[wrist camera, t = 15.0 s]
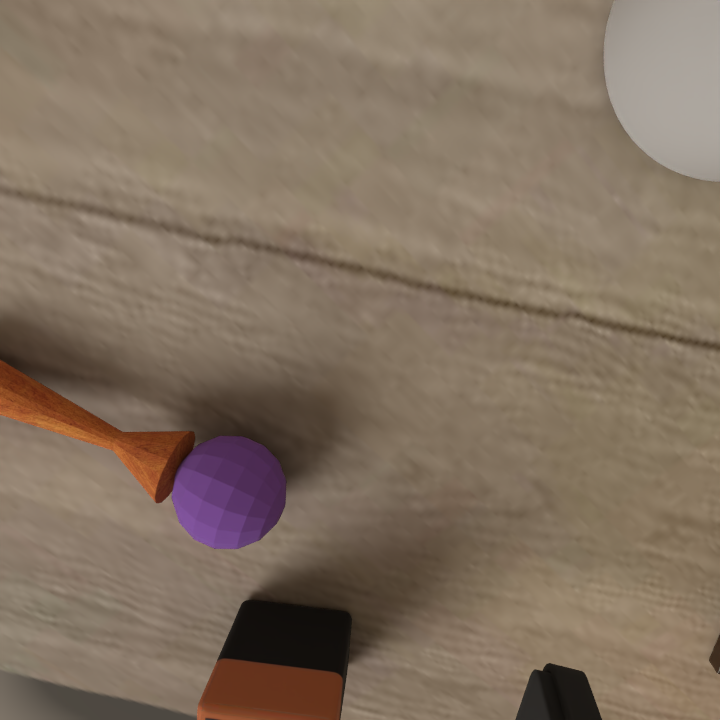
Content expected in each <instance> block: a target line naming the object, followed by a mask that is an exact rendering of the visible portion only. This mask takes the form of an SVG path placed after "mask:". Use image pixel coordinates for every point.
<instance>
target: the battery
mask: <svg viewBox="0 0 720 720" xmlns="http://www.w3.org/2000/svg"><path fill="white" fill-rule="evenodd" d="M351 624H352V618H351V615H350V614H349V613H347V612H344V611H336V610H328V609H320V608H312V607H304V606H295V605H287V604H279V603H271V602H263V601H254V600H247V601H244V602H243V603H242V605H241V607H240V609H239V611H238V614H237V616H236V618H235V621H234V623H233V625H232V628H231V630H230V632H229V635H228V637H227V639H226V641H225V644H224V646H223V648H222V651H221V653H220V655H219V658H218V660H217V662H216V665H215V667H214V669H213V672H212V674H211V676H210V679H209V681H208V683H207V686H206V688H205V690H204V692H203V695H202V697H201V699H200V702H199V704H198V711H197V720H340V718H341V711H342V704H343V697H344V690H345V683H346V676H347V668H348V658H349V647H350V635H351Z"/></svg>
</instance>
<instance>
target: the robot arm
mask: <svg viewBox="0 0 720 720" xmlns="http://www.w3.org/2000/svg"><path fill="white" fill-rule="evenodd" d="M516 720H602V718H601V716H600V713H599V710H598V707H597V704H596V702H595V699H594V696H593V693H592V690H591V688H590V685H589V682H588V679H587V677H586V675H585V673H584V672H582V671H579V670H575V669H571V668H567V667H563V666H559V665H555V664H551V663H549V664H546V666H545V667H544V669H543V671H540V670H534V671H533V672H532V673H531V676H530V678H529V681H528V684H527V687H526V690H525V693H524V696H523V699H522V702H521V705H520V708H519V711H518V714H517V717H516Z"/></svg>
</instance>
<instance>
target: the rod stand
mask: <svg viewBox="0 0 720 720" xmlns="http://www.w3.org/2000/svg"><path fill="white" fill-rule="evenodd" d="M709 661H710V663H711V664H712V666H713V667H714V669H715V670H716V672H717V673H718V674H720V635H719V637H718V640H717V642H716V645H715V647H714V649H713V652H712V654H711V657H710V659H709Z"/></svg>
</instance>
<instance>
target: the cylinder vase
mask: <svg viewBox="0 0 720 720" xmlns="http://www.w3.org/2000/svg"><path fill="white" fill-rule="evenodd" d="M604 73H605V80H606V85H607V90H608V94H609V97H610V100H611V103H612V106H613V108H614V111H615V113H616V115H617V117H618V119H619V121H620V123H621V124H622V126H623V128H624V129H625V131H626V132H627V133H628V135H629V136H630V137H631V139H632V140H633V141H634V142H635V143H636V144H637V145H638V146H639V147H640V148H641V149H642V150H643V151H644V152H645V153H646V154H647V155H648V156H650V157H651V158H652V159H654V160H655V161H657V162H658V163H660V164H661V165H663V166H665V167H667V168H669V169H671V170H673V171H675V172H677V173H680V174H683V175H685V176H689V177H692V178H696V179H701V180H707V181H716V182H720V0H614V2H613V5H612V8H611V11H610V14H609V18H608V22H607V27H606V33H605V40H604Z"/></svg>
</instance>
